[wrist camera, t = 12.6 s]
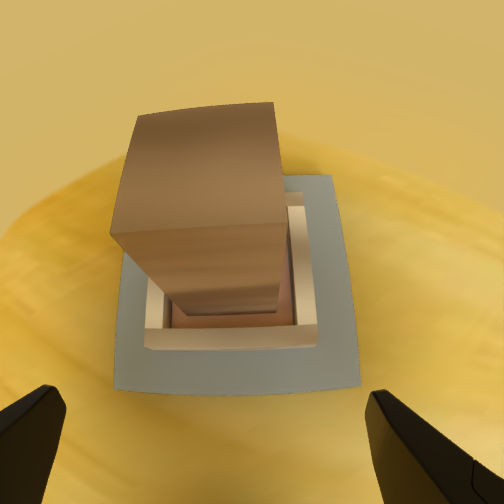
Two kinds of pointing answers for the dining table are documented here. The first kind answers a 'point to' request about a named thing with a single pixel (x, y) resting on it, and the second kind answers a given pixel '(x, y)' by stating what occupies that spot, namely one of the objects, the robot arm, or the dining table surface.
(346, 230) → the dining table surface
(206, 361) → the grey square framed tray
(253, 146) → the walnut block
